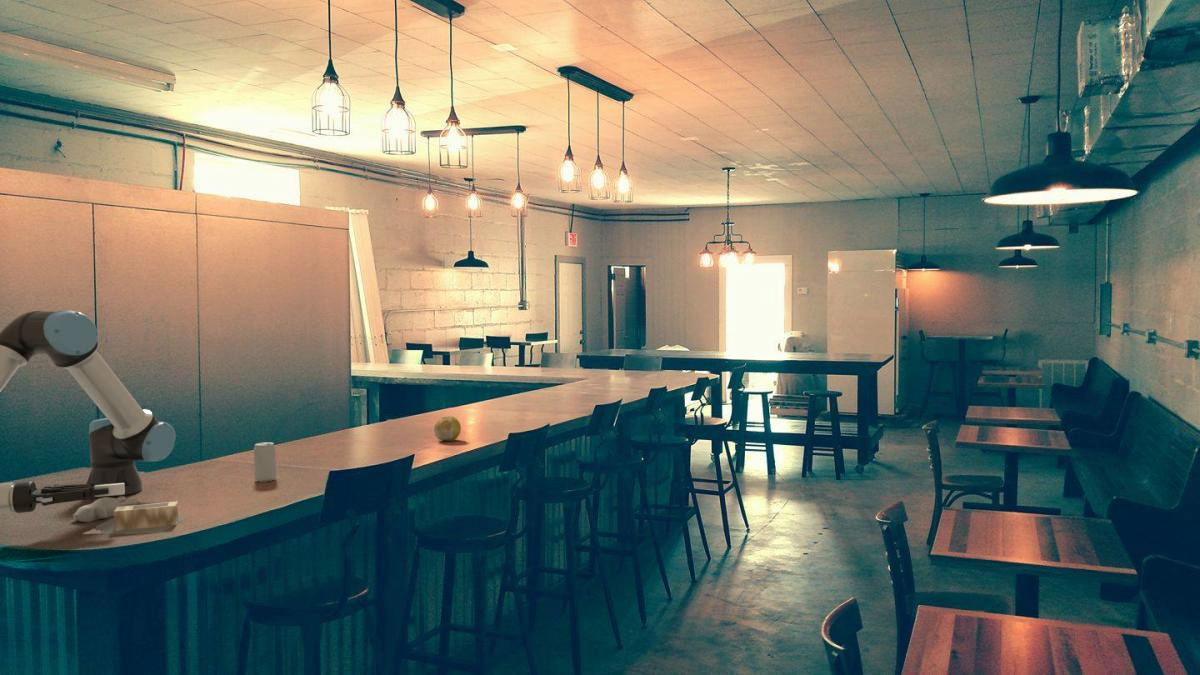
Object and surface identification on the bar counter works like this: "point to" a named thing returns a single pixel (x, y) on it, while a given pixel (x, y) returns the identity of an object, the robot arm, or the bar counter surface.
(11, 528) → the bar counter surface
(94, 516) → the bunny figurine
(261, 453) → the beverage can
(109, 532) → the rubber mat
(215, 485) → the bar counter surface
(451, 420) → the fruit
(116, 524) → the maple block
